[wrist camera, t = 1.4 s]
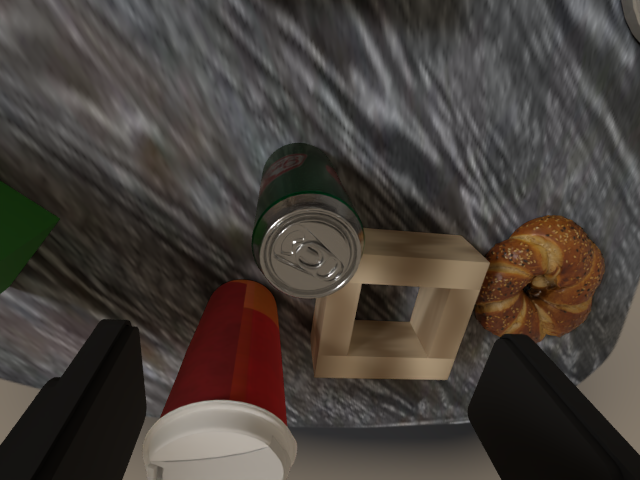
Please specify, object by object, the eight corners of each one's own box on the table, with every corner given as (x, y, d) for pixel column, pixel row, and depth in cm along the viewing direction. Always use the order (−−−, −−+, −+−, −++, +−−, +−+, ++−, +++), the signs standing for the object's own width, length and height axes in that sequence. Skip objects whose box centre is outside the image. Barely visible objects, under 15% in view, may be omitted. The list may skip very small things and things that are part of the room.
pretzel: (486, 207, 29) (513, 225, 26) (608, 214, 30) (649, 232, 27) (450, 329, 34) (468, 357, 31) (556, 330, 35) (585, 357, 32)
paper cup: (191, 338, 31) (131, 522, 19) (199, 260, 28) (133, 418, 16) (282, 348, 33) (283, 525, 20) (299, 274, 30) (312, 430, 17)
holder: (461, 235, 29) (489, 262, 25) (427, 342, 34) (447, 379, 30) (326, 225, 28) (334, 252, 24) (310, 338, 32) (314, 377, 28)
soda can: (291, 125, 24) (300, 173, 14) (347, 170, 26) (394, 245, 15) (248, 183, 26) (225, 268, 15) (304, 222, 28) (319, 324, 17)
